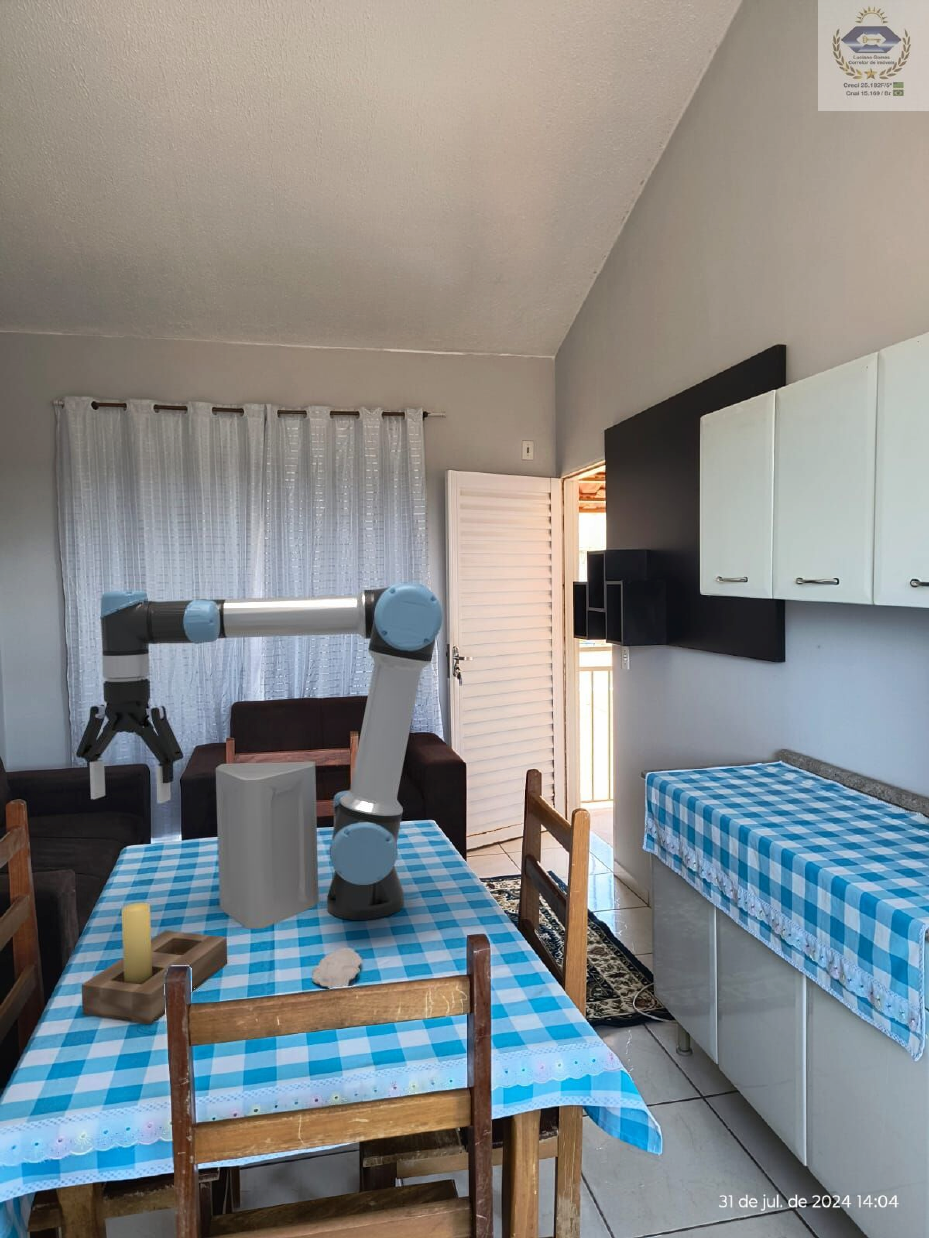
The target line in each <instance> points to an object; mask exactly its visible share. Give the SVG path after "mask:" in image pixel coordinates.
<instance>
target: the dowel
mask: <svg viewBox="0 0 929 1238" xmlns="http://www.w3.org/2000/svg"><path fill="white" fill-rule="evenodd" d="M121 925H122V926H121V929H122V931H121V932H122V955H123V956H122V958H123V961H124V982H125V983H133V984H140V985H142V984H143V983H145V982H146V981H147V980H149V979H150V978H151V977H152V953H151V939H152V930H151V929H152V928H151V926H152V925H151V905H150V904H149V903H148V902H135V903H129V904H127V905H125V906H123V907H122V908H121Z"/></svg>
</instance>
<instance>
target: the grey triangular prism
mask: <svg viewBox="0 0 929 1238" xmlns="http://www.w3.org/2000/svg"><path fill="white" fill-rule="evenodd" d="M316 779H317V778H316V762H315V761H301V762H300V761H297V762H296V761H295V762H294V761H291V762H284V761H283V762H247V763H246V762H245V763H243V762H242V763H221V764H220V765H218V766H217V767H215V787H216V788H215V791H216V821H217V822H216V823H217V854H218V855H217V856H218V884H219V885H218V886H219V887H218V889H219V895H218V896H219V910H220V911H222V912H223V913H225V914H226V915H228V916H229V917H230V918H232V919H233V920H235V921H236V922H237V923H239V924H240V925H242V926H243V927H244V928H246V929H249V930H254V929H255V930H261V929H265V928H268V927H270V926H273V925H275V924H277V923H279V922H282V921H284V920H286V919H289V918H291V917H294V916H295V915H298V914H301V913H303V912H305V911H307V910H310V909H312V908H314V907H316V906H317V904H318V902H319V870H318V869H319V867H318V866H319V865H318V864H319V863H318V861H319V860H318V857H319V856H318V826H317V824H318V822H317V821H318V820H317V790H316V789H317V788H316V787H317V785H316V782H317V781H316Z"/></svg>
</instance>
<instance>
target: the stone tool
mask: <svg viewBox="0 0 929 1238" xmlns="http://www.w3.org/2000/svg"><path fill="white" fill-rule="evenodd" d="M362 964H363V958H362V957H361V956H360V954H359V953H357V952H356V951H355V950H354V949H353V948H351V947H342V948H338V949H336V950H335V951H333V952H331V953H328V954H327V955H324V957H323V958H321V960H320V961H319V962H318V965H317V966H316V967H314V968H312V971H313V973H312V978H311V980H312V982H313V983H314V984H317V985H320V986H321V987H327V989H328V988H333V987H343V986H348V985H349V983H350V981H351V980H353V979H355V978H356V975H358V974H359V973H360V971H361V969H360V968H359V967H360V965H362ZM348 987H349V986H348Z"/></svg>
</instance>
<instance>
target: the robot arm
mask: <svg viewBox="0 0 929 1238" xmlns="http://www.w3.org/2000/svg"><path fill="white" fill-rule="evenodd" d="M100 601H101V602H100V605H101V606H100V617H99V619H100V627H101V629H100V631H101V645H102V652H101V653H102V677H103V678H104V679H106V680H105V681H104V682H103V683H102V685H103V701H104V702H105V703H106V706H105V704H97V705H94V706H90V708H89V719H88V722H87V724H86V727H85V730H84V732H83V735H82V737H81V738H80V739H81V740H80V743H79V744H78V747H77V750H76V753H75V755H76V757H77V758H78V759H79V758H82V759H84V760H85V762H86V770H87V771H86V774H87V775H86V776H87V778H88V780H89V782H90V783H89V785H90V800H97V799H99V798H102V797H104V796H106V778H105V777H106V776H105V773H106V772H105V759H102V758H103V756H102V754H103V753H104V752H105V750H106V749H107V748H108V746H109V745H110V744H111V742H112V741H113V740H114V738H115V736H116V735H117V733H123V732H125V733H128V734H134V733H135V734H136V735H137V736H139V737H140V739H142V741H143V742H144V743H145V745H146V746H147V748H148V749H149V750H150V752H151V753H152V755H154V757H155V758H156V760H157V761H158V762H159V764H156V765H155V776H156V777H155V778H156V803H157V804H163V803H165V802H168V801H170V800H171V798H172V797H171V795H172V794H171V783H172V782H174V779H175V778H174V763H175V762H177V761H180V760H183V759H184V753H183V751H182V749H181V747H180V745H179V742H178V740H177V738H176V735H175V734H174V731H173V728H172V727H171V725H170V723H169V719H168V718H167V709H166V707H165V706H163V705H160V706H156V707H150V705H149V702H150V698H151V684H150V683H151V682H150V681H151V680H149V678H147V677H148V676H149V675H150V659H149V658H150V657H149V654H150V652H149V651H150V650H149V646H150V645H151V644H152V645H158V644H195V645H199V644H205V643H206V644H207V643H213V642H215V641H217V640H218V639H233V638H234V639H235V638H236V639H237V638H238V639H239V638H265V637H266V638H268V637H298V636H299V637H301V636H302V637H303V636H329V635H330V636H333V635H334V636H335V635H337V636H338V635H358V636H361V637H362V638H363V639H366V640H367V639H368V640H369V644H368V649H367V652H368V653H369V654H370V657H371V658H372V659H373V668H372V673H371V678H370V682H369V689H368V695H367V699H366V705H365V711H364V715H363V720H362V726H361V730H360V736H359V740H358V741H359V742H358V745H357V750H356V752H357V753H356V757H355V762H354V767H353V773H352V777H351V783H350V789H349V790H342V791H339V792H337V793H336V794H335V795H334V797H333V804H332V809H333V830H332V837H331V843H330V844H329V850H328V851H329V859H330V861H331V865H332V867H333V869H334V873H333V876H332V879H331V883H330V885H329V889H328V892H327V896H326V906H327V907H326V908H327V909H326V910H327V911H328V913H330V914H331V915H332V916H334V917H336V918H340V919H343V920H349V921H350V920H352V921H366V920H367V921H368V920H374V919H375V920H376V919H380V918H384V917H388V916H391V915H393V914H396V913H397V912H399V911H400V910H401V909H402V908H403V906H404V904H405V901H404V898H405V897H404V895H405V894H404V889H403V887H402V883H401V881H400V878H399V876H398V873H397V869H396V867H395V864H396V862H397V859H398V855H399V851H398V837H399V834H400V829H401V822H402V817H403V812H404V809H403V808H404V807H403V806H402V805H401V804H400V802H399V800H398V793H399V787H400V783H401V778H402V777H401V776H402V773H403V767H404V762H405V756H406V751H407V746H408V741H409V736H410V730H411V724H412V720H413V715H414V709H415V703H416V699H417V694H418V693H417V692H418V688H419V683H420V679H421V672H422V670H423V669H424V668H426V667H427V666H429V665H430V664H432V660H433V654H434V650H435V644H436V639H437V636H438V634H439V632H440V630H441V628H442V625H443V610H442V607H441V604H440V601H439V600H438V598H437V596H436V595H435V593H433V592H432V591H431V590H430V589H429V588H427V587H426V586H425V585H422V584H421V583H420V584H419V583H416V582H409V581H404V582H399V583H396V584H393V585H391V586H389V587H383V588H377V589H375V588H374V589H362V590H361V591H360V592H359V593H358V594H354V595H351V594H350V595H322V596H321V595H320V596H318V595H317V596H315V595H314V596H289V597H255V598H251V597H250V598H226V599H221V598H220V599H218V598H217V599H216V598H215V599H214V598H212V599H205V598H204V599H203V598H201V599H200V598H199V599H193V600H191V599H190V600H167V601H166V600H164V601H153V600H149V598H148V594H147V592H146V590H143V589H142V590H141V589H140V590H107V591H105V592H104V593H102V595H101V599H100ZM105 718H107V720H108V721H107V722H106V724H105V725H104V721H105ZM150 720H151V721H152V723H151V721H150ZM103 725H104V726H103ZM102 727H103V728H102ZM101 730H102V731H101ZM100 732H101V733H100Z"/></svg>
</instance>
